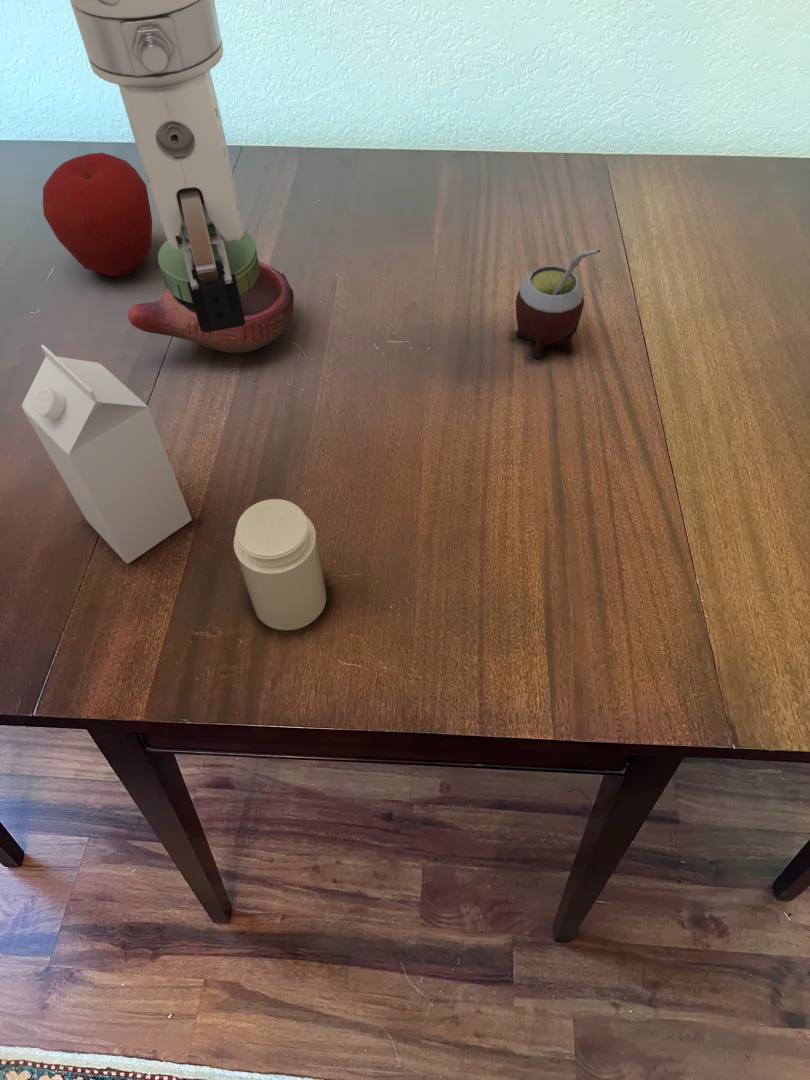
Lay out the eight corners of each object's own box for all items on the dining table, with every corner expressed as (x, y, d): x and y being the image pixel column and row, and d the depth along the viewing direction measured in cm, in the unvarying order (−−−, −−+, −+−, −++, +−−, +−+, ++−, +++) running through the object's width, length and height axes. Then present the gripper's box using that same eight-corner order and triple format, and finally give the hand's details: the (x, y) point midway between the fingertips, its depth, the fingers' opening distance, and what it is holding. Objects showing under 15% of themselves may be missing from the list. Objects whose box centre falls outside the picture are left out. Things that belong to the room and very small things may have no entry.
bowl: (229, 286, 93) (215, 225, 87) (318, 321, 89) (310, 260, 83) (139, 367, 85) (116, 307, 79) (232, 408, 81) (216, 349, 75)
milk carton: (150, 479, 76) (82, 322, 60) (193, 521, 73) (133, 367, 57) (86, 521, 73) (-2, 367, 58) (128, 566, 70) (46, 417, 55)
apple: (112, 227, 100) (75, 122, 89) (187, 250, 97) (158, 144, 86) (49, 280, 94) (2, 174, 83) (127, 306, 91) (88, 200, 80)
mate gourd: (521, 315, 90) (538, 192, 77) (588, 330, 88) (617, 207, 76) (502, 356, 86) (517, 234, 73) (572, 373, 84) (599, 251, 72)
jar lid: (273, 253, 58) (269, 230, 56) (238, 311, 54) (233, 288, 53) (188, 240, 59) (182, 217, 57) (148, 295, 55) (140, 272, 54)
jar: (252, 634, 66) (228, 565, 57) (253, 570, 70) (230, 497, 61) (328, 626, 66) (315, 557, 58) (324, 564, 70) (312, 490, 61)
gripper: (238, 92, 39) (286, 362, 54) (201, -38, 49) (250, 221, 63) (85, 112, 38) (176, 382, 53) (78, -24, 48) (157, 236, 62)
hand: (216, 292), depth 58 cm, fingers closed on jar lid, 6 cm apart
